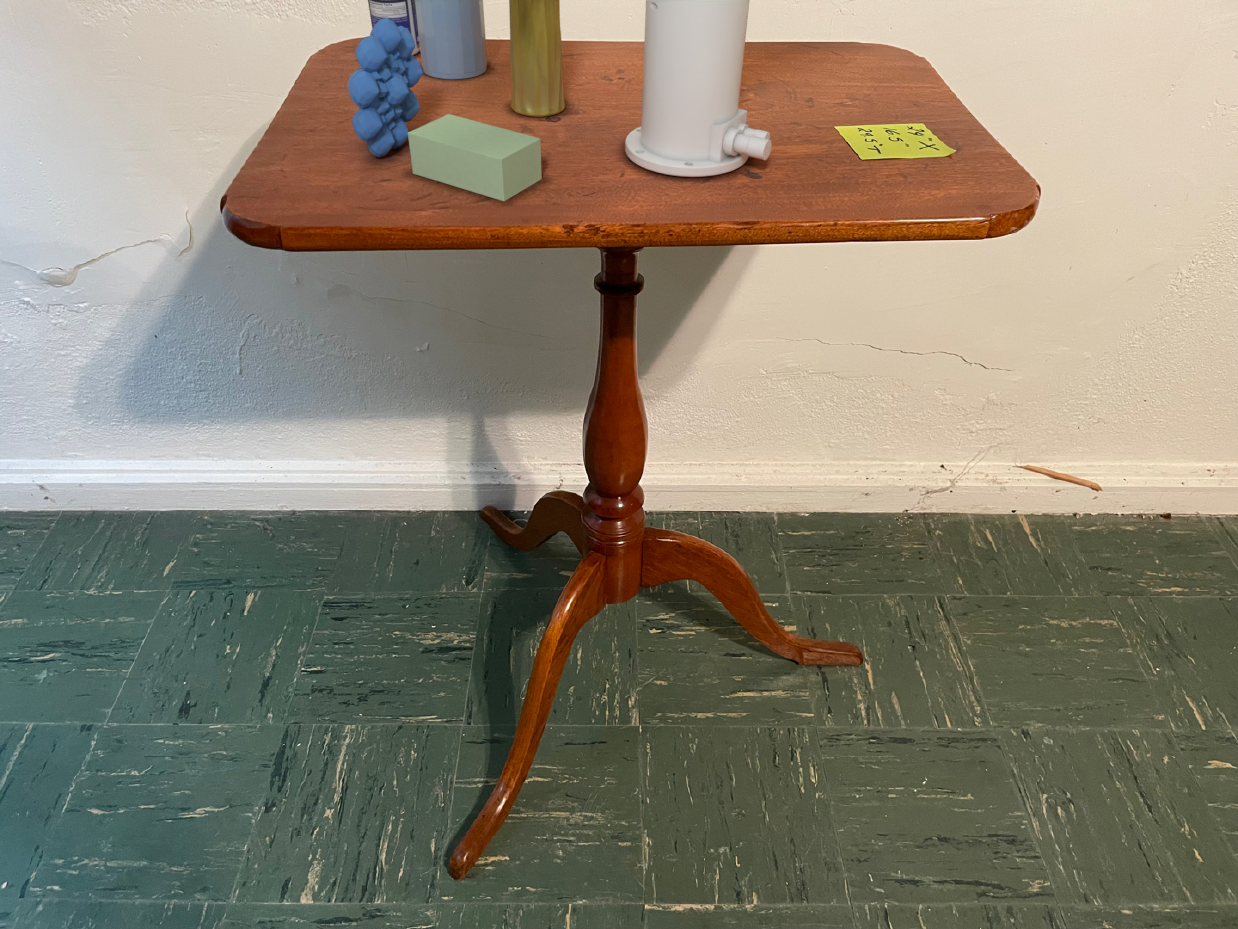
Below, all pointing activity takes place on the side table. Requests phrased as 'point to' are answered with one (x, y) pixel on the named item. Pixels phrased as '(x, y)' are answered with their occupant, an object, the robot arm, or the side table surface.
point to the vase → (536, 58)
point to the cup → (452, 38)
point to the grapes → (385, 87)
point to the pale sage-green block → (476, 156)
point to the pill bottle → (396, 15)
